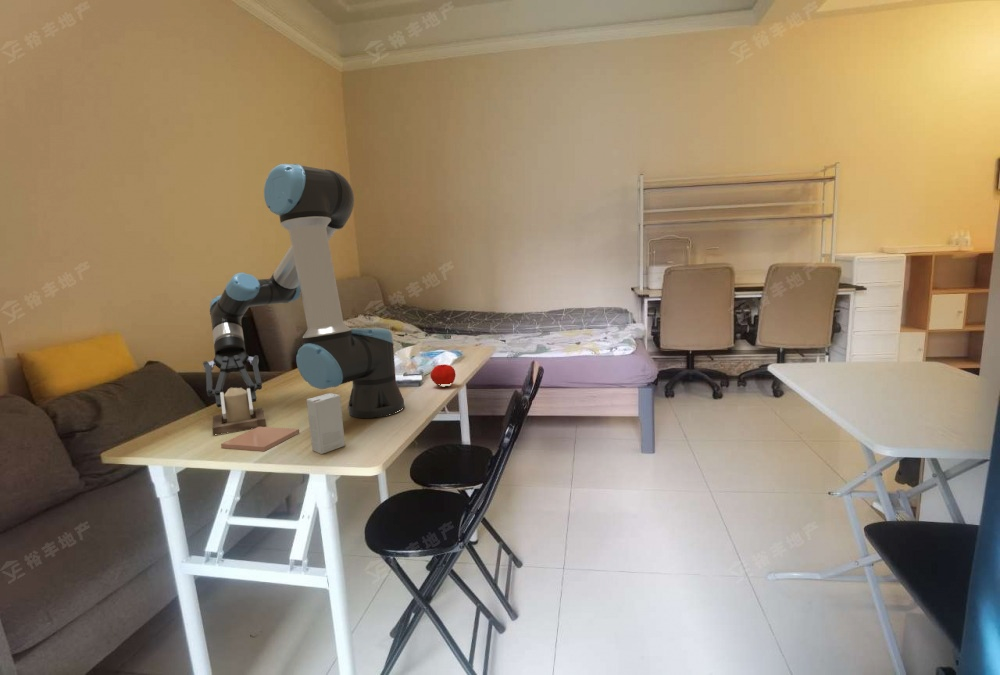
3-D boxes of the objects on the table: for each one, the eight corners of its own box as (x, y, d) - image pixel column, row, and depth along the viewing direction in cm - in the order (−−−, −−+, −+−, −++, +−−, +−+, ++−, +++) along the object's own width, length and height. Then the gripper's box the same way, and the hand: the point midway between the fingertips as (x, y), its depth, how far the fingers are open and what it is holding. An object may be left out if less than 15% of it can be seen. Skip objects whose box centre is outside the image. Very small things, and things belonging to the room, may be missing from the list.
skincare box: (335, 442, 117) (330, 391, 115) (346, 446, 114) (341, 394, 112) (310, 451, 112) (305, 398, 110) (321, 455, 109) (315, 401, 107)
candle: (255, 421, 136) (250, 384, 134) (243, 427, 130) (238, 390, 129) (236, 421, 136) (231, 385, 135) (223, 428, 131) (218, 390, 129)
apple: (427, 389, 160) (426, 366, 159) (437, 383, 168) (435, 361, 167) (451, 390, 158) (449, 367, 157) (459, 384, 165) (458, 361, 164)
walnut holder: (263, 414, 141) (262, 407, 141) (266, 426, 131) (265, 418, 130) (214, 422, 136) (213, 415, 135) (213, 435, 125) (212, 428, 125)
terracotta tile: (299, 432, 124) (299, 429, 124) (264, 451, 113) (263, 447, 113) (259, 430, 128) (259, 426, 128) (221, 447, 116) (220, 443, 116)
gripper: (265, 347, 148) (277, 414, 136) (192, 355, 139) (198, 428, 128) (265, 331, 143) (277, 400, 131) (188, 338, 134) (194, 413, 122)
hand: (238, 414), depth 129 cm, fingers closed on candle, 5 cm apart
